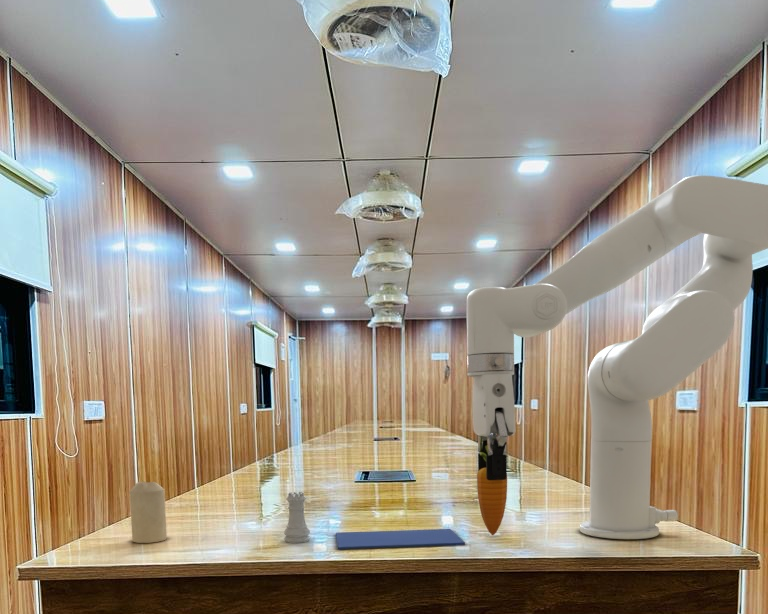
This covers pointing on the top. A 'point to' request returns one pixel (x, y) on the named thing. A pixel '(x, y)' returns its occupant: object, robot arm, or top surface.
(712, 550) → the top surface
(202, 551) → the top surface
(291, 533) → the rook chess piece
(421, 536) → the napkin
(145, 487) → the candle
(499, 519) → the carrot
